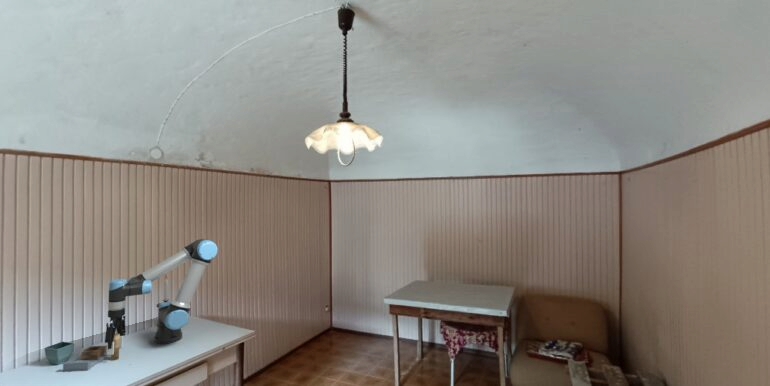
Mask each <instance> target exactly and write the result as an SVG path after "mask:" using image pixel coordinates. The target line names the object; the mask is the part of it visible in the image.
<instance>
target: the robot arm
mask: <svg viewBox="0 0 770 386" xmlns="http://www.w3.org/2000/svg"><path fill="white" fill-rule="evenodd" d="M218 250H219V249H218V246H217V244H216V242H214V241H212V240H210V239H209V240H208V239H204V238H200V239H196V240H195V241H193V242H191V243H189V244H188V245H186V246H184V247H183V248H182V250H181V251H179V252H177V253H175V254H173V255H171V256H170V257H167V258H166V259H164V260H163V261H161V262H159V263H157V264H156V265H154V266H152V267H150V268H149V269H147V270H144V272H141V273H140V274H138V275H136V276H131V277H130V278H129V279H128V280H127V279H124V278H122V279H121V278H119V279H113V280H110V282H109V283H108V284H109V285H108V303H107V306H108V307H107V309H108V310H107V317H108V318H109V319H110V320H109V322H106V325H105V326H106V329H105V337H104V343H106V344H107V355H109V356H111V355H113V354H114V342H113V340H114V336H115V334H120V342H119V350H120V349H123V344H124V343H123V342H124V341H123V340H124V336H126V317H127V316H126V299H127V297H132V296H140V295H148V294H150V293H152V291H153V290H152V289H153V282H154V281H156V280H157V279H159V278H161V277H163V276H165V275H167V273H170V272H171V271H172V270H175V269H176V268H178V267H180V266H181V265H183V264H184V263H186V262H188V261H191V263H190V265H189V268H188V269H187V272H186V274H185V276H184V278H183V281H182V283H181V285H180V287H179V290H178V292H177V293H176V296H175V299H174V300H172V301H171V300H170V301H168V302H164V301H163V302H164V303H163V302H160V303H161V304H159V303H158V304H159V307H157V310H158V316H157V317H158V319H157V324H158V326H157V329H156V332H155V335H154V337H153V339H154V340H153V342H154V343H155V344H160V345H161V344H163V345H164V344H170V343H175V342H178V341H180V340H182V339H183V331H182V329H181V328H184V327H185V326H186V325H187V324H188V321H189V313H190V311H191V304H190V303H191V302H192V300H193V297H194V295H195V293H196V290H197V289H198V285H199V284H200V281H201V279H202V278H203V277H202V276H203V274H204V272H205V270H206V268H207V266H209V265H210V264H211V262H212V260H213V259H215V257H216V256H217V255H218Z"/></svg>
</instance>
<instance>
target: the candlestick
mask: <svg viewBox="0 0 770 386" xmlns="http://www.w3.org/2000/svg"><path fill="white" fill-rule="evenodd" d="M168 289H169V280H168V275H167V274H165V280H164V297H163V298H164V299H163V300H162V301H163V302H159V303H157V304H156V308H159V304H161V303H164V302H169V299H168V297H169V296H168V295H169V294H168V293H169V290H168ZM156 325H157V327H158V323H157V324H156Z"/></svg>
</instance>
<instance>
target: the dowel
mask: <svg viewBox="0 0 770 386" xmlns="http://www.w3.org/2000/svg"><path fill="white" fill-rule="evenodd" d="M113 342H114V354H113V355H110V361H117V360H119V358H120V349H119V342H120V334H117V333H115V336H114V340H113Z"/></svg>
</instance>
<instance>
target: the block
mask: <svg viewBox="0 0 770 386" xmlns="http://www.w3.org/2000/svg"><path fill="white" fill-rule="evenodd" d="M107 348H108V344H107V345H91V346H88V347H86V349H83V350H82V351H80V359H81V360H84V359H98V358H100V357H101V356H103V355H104V354H106V353H107Z"/></svg>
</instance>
